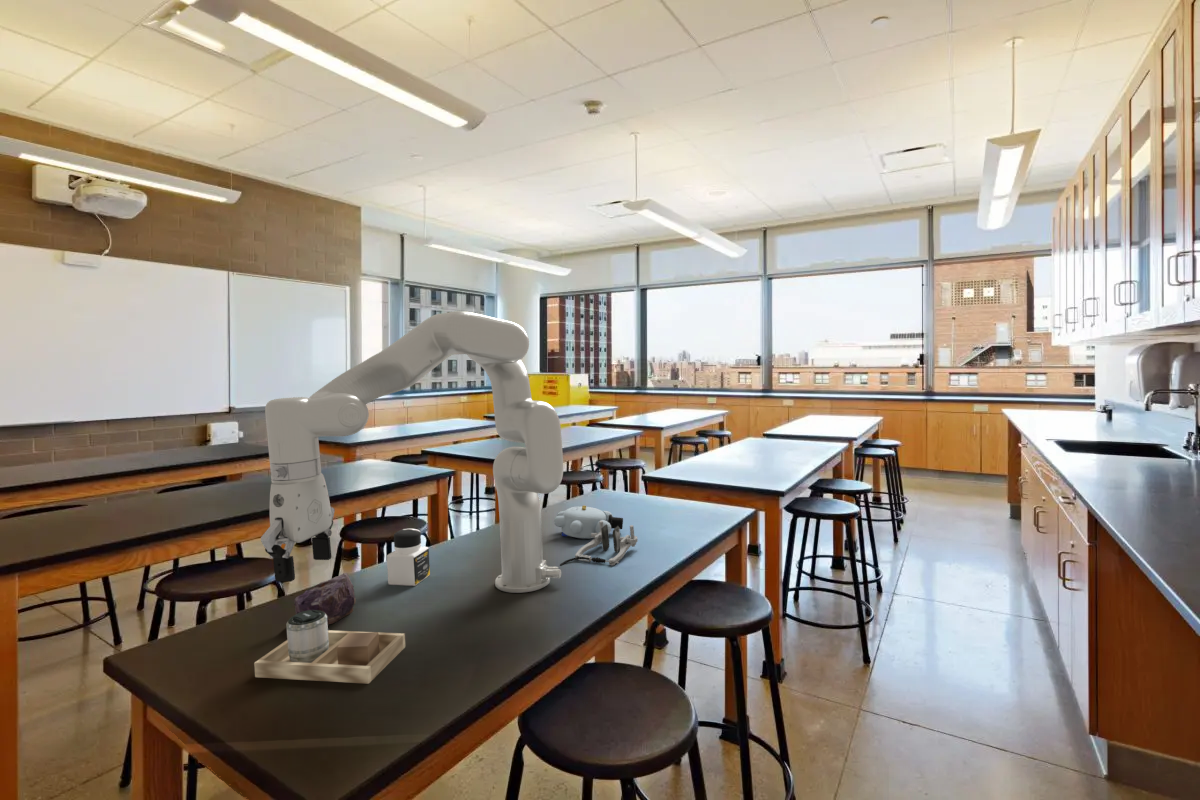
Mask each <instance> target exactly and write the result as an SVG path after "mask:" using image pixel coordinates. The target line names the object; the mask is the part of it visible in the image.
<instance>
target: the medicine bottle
mask: <svg viewBox="0 0 1200 800" xmlns="http://www.w3.org/2000/svg"><path fill="white" fill-rule="evenodd" d="M421 533H422V532H421V531H420V530H419V529H416V528H403V529H400V530H398V531H396V532H395V533H394V534H393V544H394V547H393V548H394V551H392V552H390V553H388V554H387V555H386V562H387V563H386V564H387V567H386V568H387V581H388V582H387V584H388V585H390V586H409V587H415V586H418V585H419V584H420V583H421V582H422V581H424V580H425V579H427V578H428V577H429V576H430V575H431V568H430V565H431V564H430V549H429V546H422V537H421Z"/></svg>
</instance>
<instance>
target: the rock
mask: <svg viewBox="0 0 1200 800" xmlns="http://www.w3.org/2000/svg"><path fill="white" fill-rule="evenodd" d="M348 574H349V573H347V572H344V573H341V574H340V575H338V576H335V577H332V578H331V579H328V580H324V581H321V582H319V583H318V584H316V585H315V586H313V587H312V588H310V589H308V590H305V591H304V592H303V593H302V594H300V595H298V596H296V597H295V598H294V606H295V607H294V608H295V609H294V611H295V615H296V614H298V613H300V612H303V611H307V610H320V611H323V612H325V614H326V615H327V625H328V626H329V625H333V624H334V623H336V622H339V621H340V620H341V619H342V618H345V617H348V616H349V615H350V614H353V612H354V606H355V605H356V600H357V599H356V596H355V589H354V584H353V583H352V580H351V579H350V576H349V575H348Z"/></svg>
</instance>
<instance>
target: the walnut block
mask: <svg viewBox="0 0 1200 800" xmlns="http://www.w3.org/2000/svg"><path fill="white" fill-rule="evenodd" d="M368 632H369V633H349V634H348V635H347V637H346V638H345V639H344V640H343V641H342V642H341V643H340V644H339V646H338V647H337V656H338V664H339V665H358V666H366V665H367V664H368V663H370V662H371V661H372V660H373V659H374V658H375V657H376V656H377V655H378V654H379V653H380V651H379V633H378V632H379V631H377V632H376V631H368Z"/></svg>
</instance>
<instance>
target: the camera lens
mask: <svg viewBox="0 0 1200 800" xmlns="http://www.w3.org/2000/svg"><path fill="white" fill-rule="evenodd" d="M285 625H286V638H287V639H286V640H288V654H289V658H290V660H291V662H301V663H312V662H313V661H314V660H315V659H317V658H318V657H319V656H320V655H322V654H323V653H324V652H325V651H327V650H328V648H329V640H328V630H329V628H328V626H329V624H328V625H327V615H326V614H325V612H323V611H320V610H307V611H303V612H300V613H298V614H296V613H295V614H294V615H292V616H291V617H290V618H289V619H288V620H287V621H286V624H285Z"/></svg>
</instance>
